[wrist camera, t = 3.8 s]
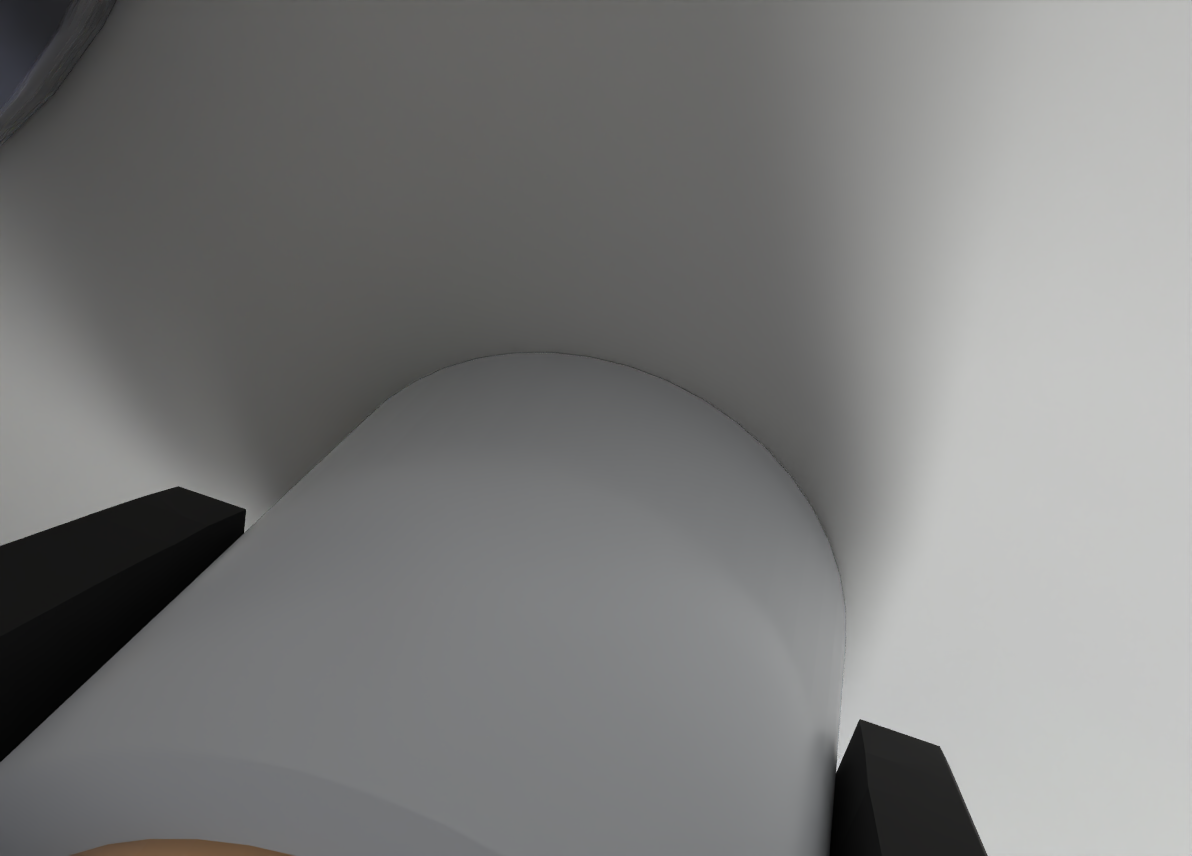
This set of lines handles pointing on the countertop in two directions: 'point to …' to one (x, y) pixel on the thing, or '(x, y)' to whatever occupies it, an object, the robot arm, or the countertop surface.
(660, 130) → the countertop surface
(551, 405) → the cup
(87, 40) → the toothed ring bowl
